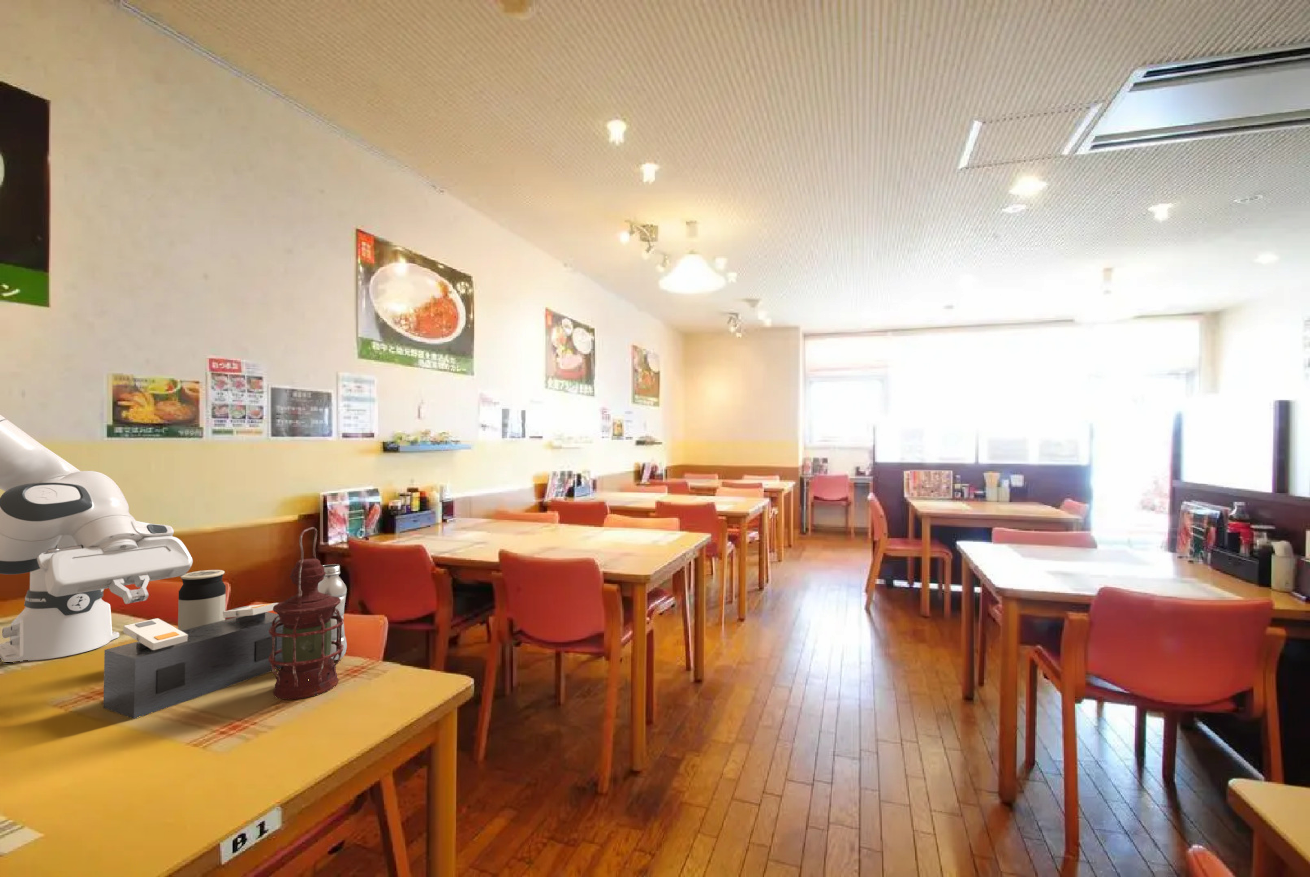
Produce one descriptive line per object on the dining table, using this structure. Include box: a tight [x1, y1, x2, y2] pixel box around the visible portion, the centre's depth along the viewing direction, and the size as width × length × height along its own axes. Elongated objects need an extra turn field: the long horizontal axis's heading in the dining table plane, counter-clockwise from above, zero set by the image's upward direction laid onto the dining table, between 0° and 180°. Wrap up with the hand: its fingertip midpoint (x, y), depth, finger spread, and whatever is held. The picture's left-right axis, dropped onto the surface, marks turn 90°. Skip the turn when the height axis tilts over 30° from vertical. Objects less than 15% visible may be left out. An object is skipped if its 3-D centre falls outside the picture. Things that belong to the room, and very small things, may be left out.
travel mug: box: [177, 569, 227, 631], centre depth 122 cm, size 8×8×18 cm
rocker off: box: [223, 602, 279, 619], centre depth 115 cm, size 10×5×1 cm, turn 66°
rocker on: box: [122, 618, 188, 650], centre depth 101 cm, size 10×5×1 cm, turn 66°
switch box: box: [102, 611, 284, 720], centre depth 108 cm, size 10×26×11 cm, turn 156°
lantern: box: [268, 526, 345, 700], centre depth 107 cm, size 12×12×30 cm
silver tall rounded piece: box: [318, 563, 348, 662], centre depth 120 cm, size 6×7×20 cm
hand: (137, 600), depth 102 cm, fingers closed
